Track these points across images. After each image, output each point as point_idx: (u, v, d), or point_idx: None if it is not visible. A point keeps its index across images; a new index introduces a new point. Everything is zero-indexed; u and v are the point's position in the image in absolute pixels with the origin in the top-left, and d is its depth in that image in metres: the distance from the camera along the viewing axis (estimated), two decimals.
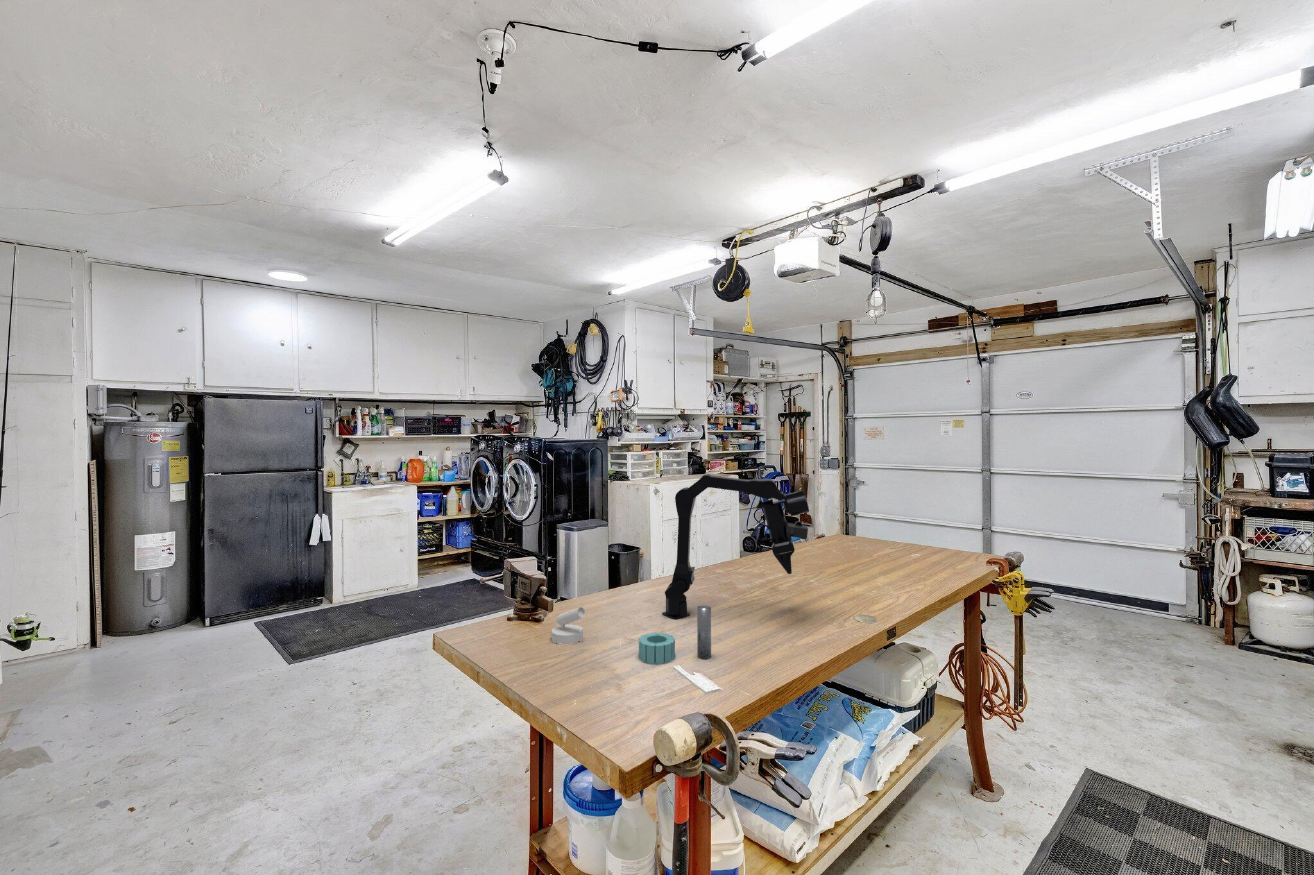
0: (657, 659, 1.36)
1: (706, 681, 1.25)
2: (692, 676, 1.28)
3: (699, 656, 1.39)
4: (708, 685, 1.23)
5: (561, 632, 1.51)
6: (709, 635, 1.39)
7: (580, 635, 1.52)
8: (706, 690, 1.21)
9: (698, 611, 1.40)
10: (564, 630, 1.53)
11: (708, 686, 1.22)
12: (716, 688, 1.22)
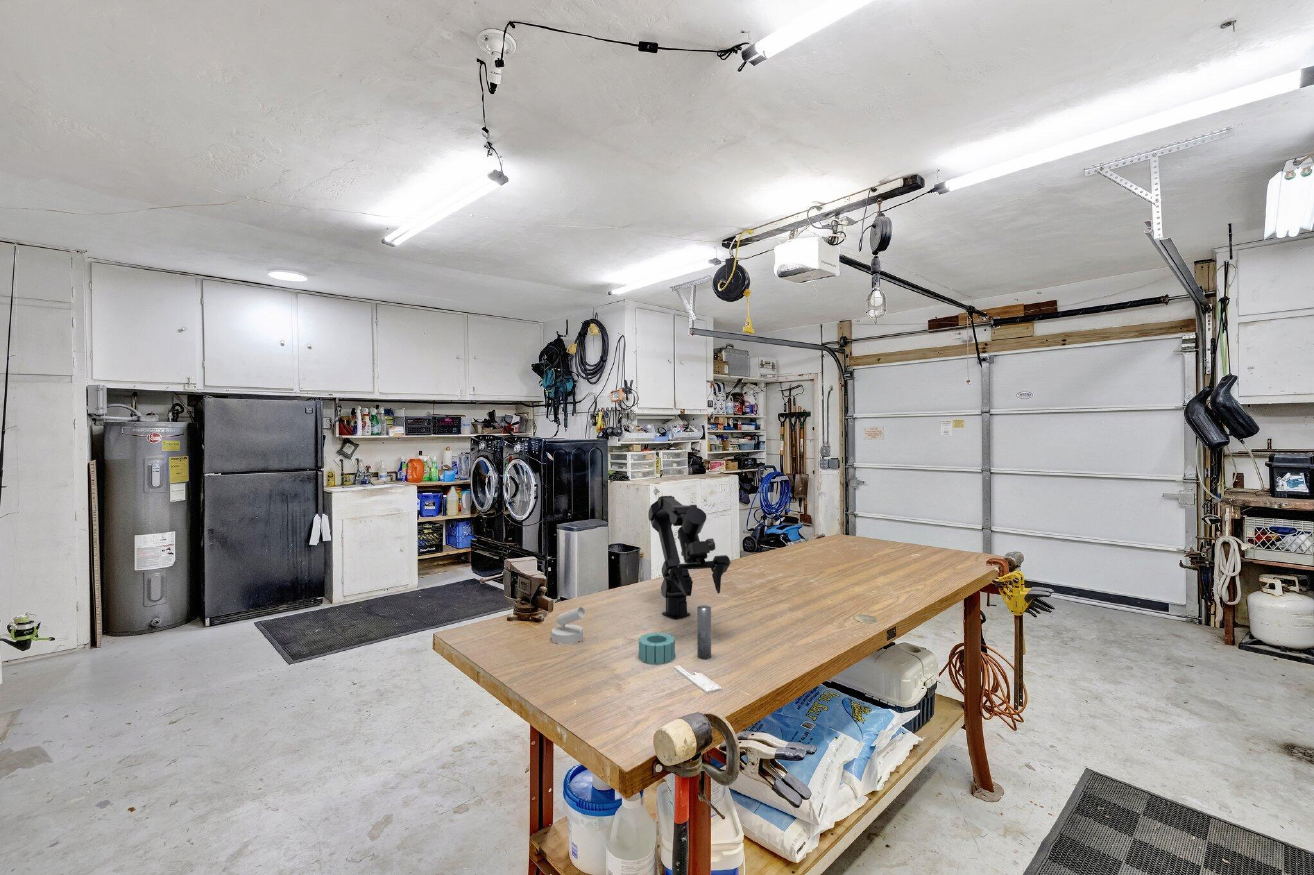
0: (657, 659, 1.36)
1: (707, 681, 1.25)
2: (693, 676, 1.28)
3: (699, 656, 1.39)
4: (709, 685, 1.23)
5: (561, 632, 1.51)
6: (709, 635, 1.39)
7: (580, 635, 1.52)
8: (707, 690, 1.21)
9: (698, 611, 1.40)
10: (564, 630, 1.53)
11: (709, 686, 1.22)
12: (717, 688, 1.22)
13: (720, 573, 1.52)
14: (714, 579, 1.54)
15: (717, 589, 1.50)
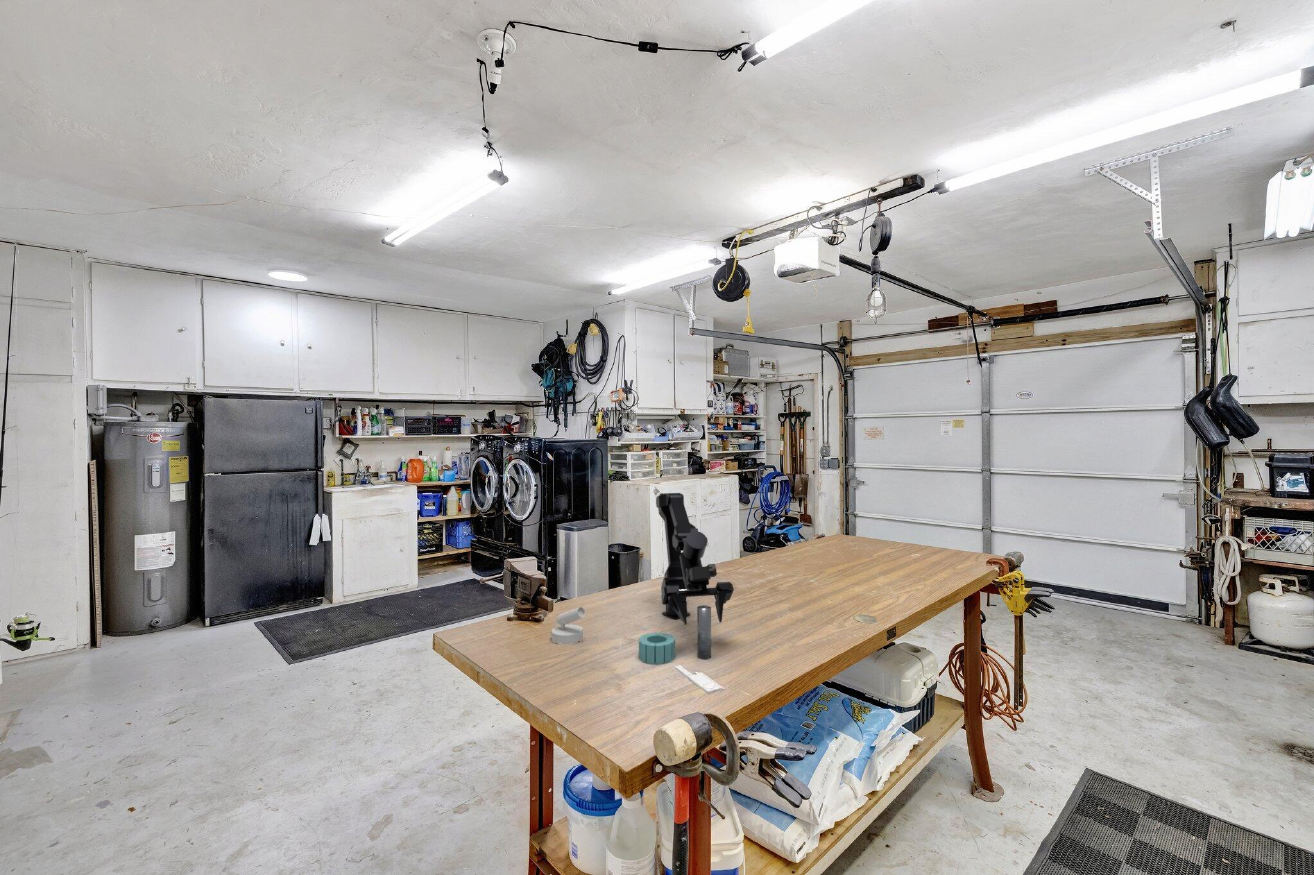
0: (657, 659, 1.36)
1: (708, 681, 1.25)
2: (694, 676, 1.28)
3: (699, 656, 1.39)
4: (710, 685, 1.23)
5: (561, 632, 1.51)
6: (709, 635, 1.39)
7: (580, 635, 1.52)
8: (708, 690, 1.21)
9: (698, 611, 1.40)
10: (564, 630, 1.53)
11: (710, 686, 1.23)
12: (718, 687, 1.22)
13: (722, 601, 1.45)
14: (716, 607, 1.46)
15: (719, 618, 1.43)
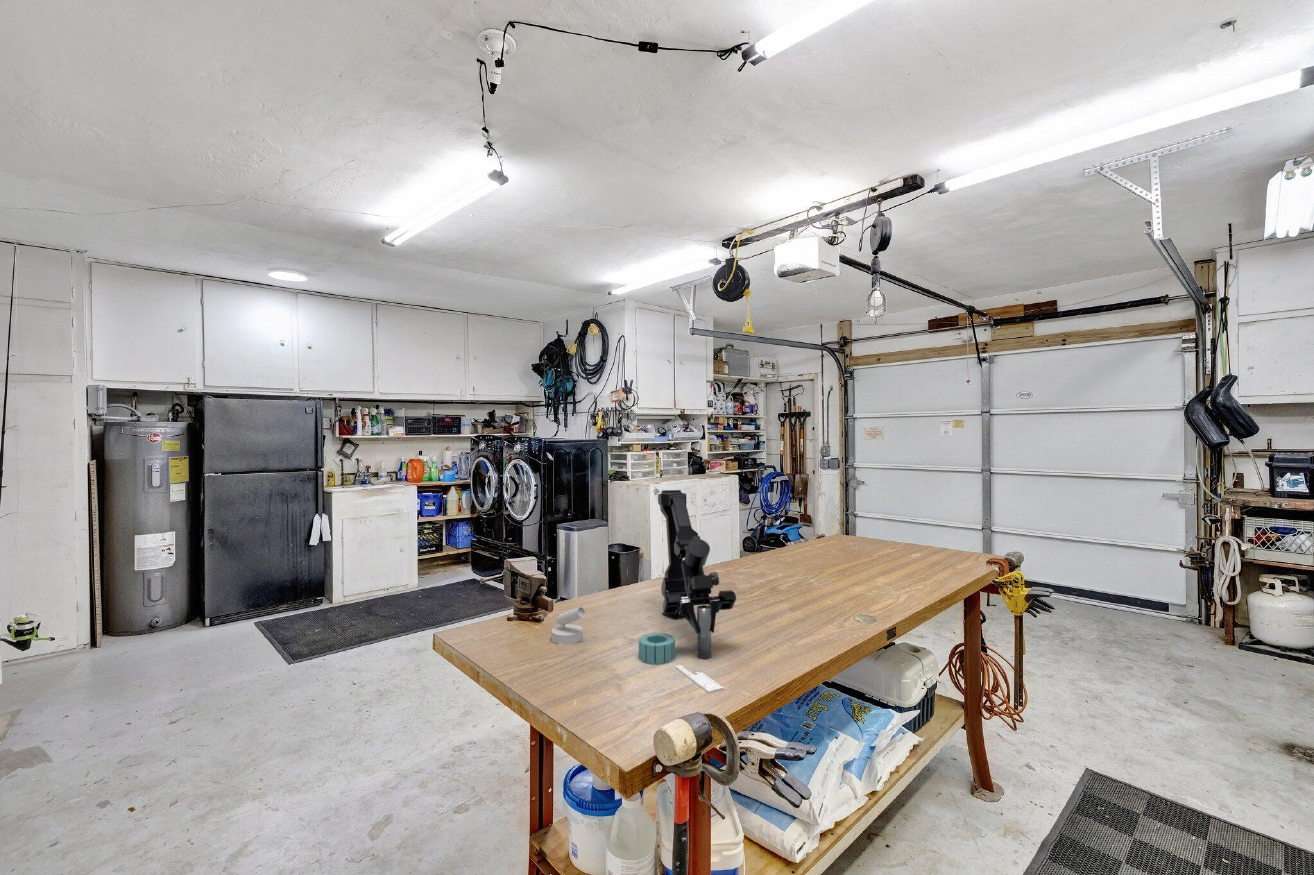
0: (657, 659, 1.36)
1: (708, 680, 1.26)
2: (695, 676, 1.28)
3: (699, 656, 1.39)
4: (711, 684, 1.23)
5: (561, 632, 1.51)
6: (709, 635, 1.39)
7: (580, 635, 1.52)
8: (709, 689, 1.21)
9: (698, 611, 1.40)
10: (564, 630, 1.53)
11: (711, 685, 1.23)
12: (719, 687, 1.22)
13: (715, 610, 1.42)
14: None
15: (711, 628, 1.40)
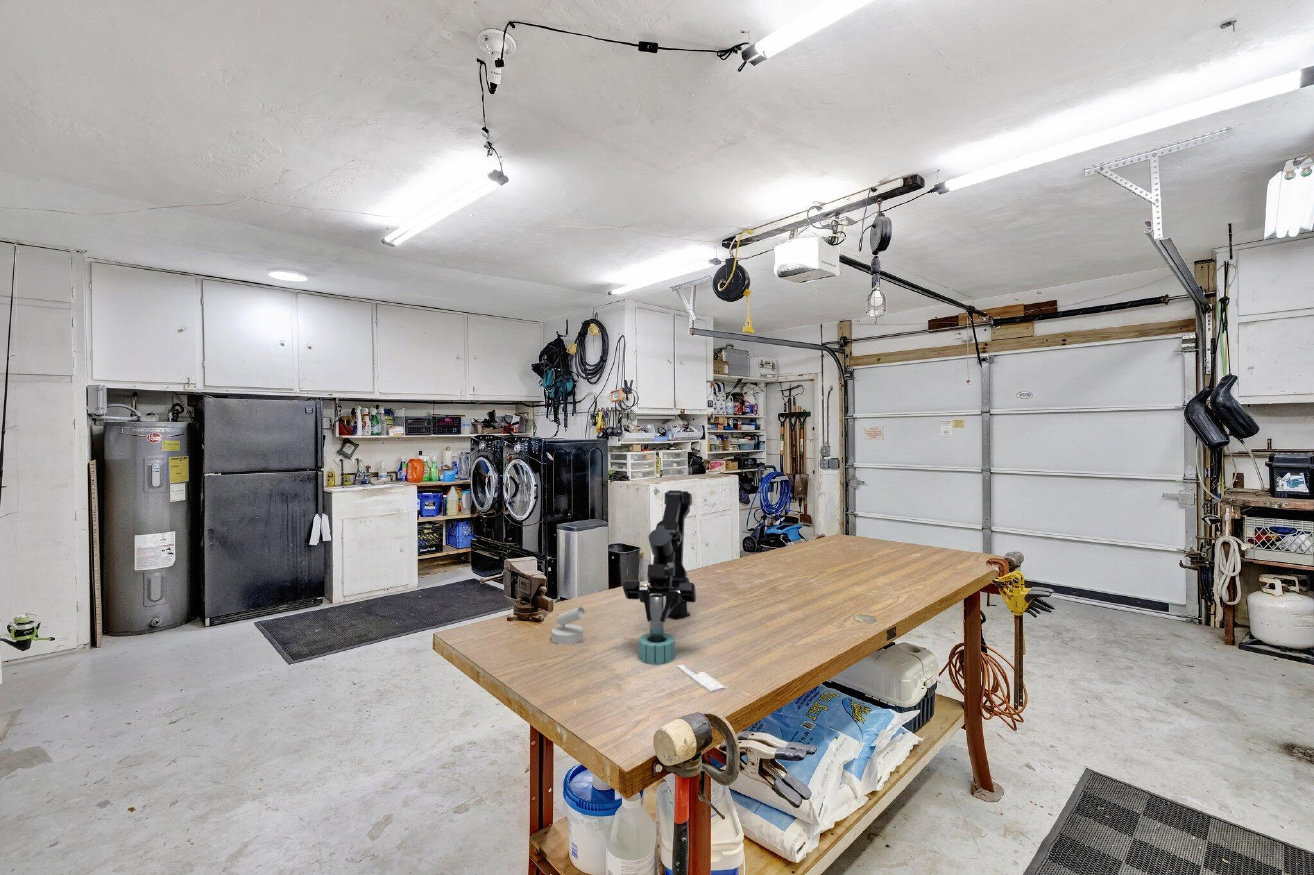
0: (657, 659, 1.36)
1: (710, 680, 1.26)
2: (697, 675, 1.28)
3: None
4: (712, 684, 1.23)
5: (561, 632, 1.51)
6: (659, 624, 1.39)
7: (580, 635, 1.52)
8: (710, 689, 1.21)
9: None
10: (564, 630, 1.53)
11: (712, 685, 1.23)
12: (720, 687, 1.22)
13: (669, 601, 1.41)
14: None
15: (663, 618, 1.40)
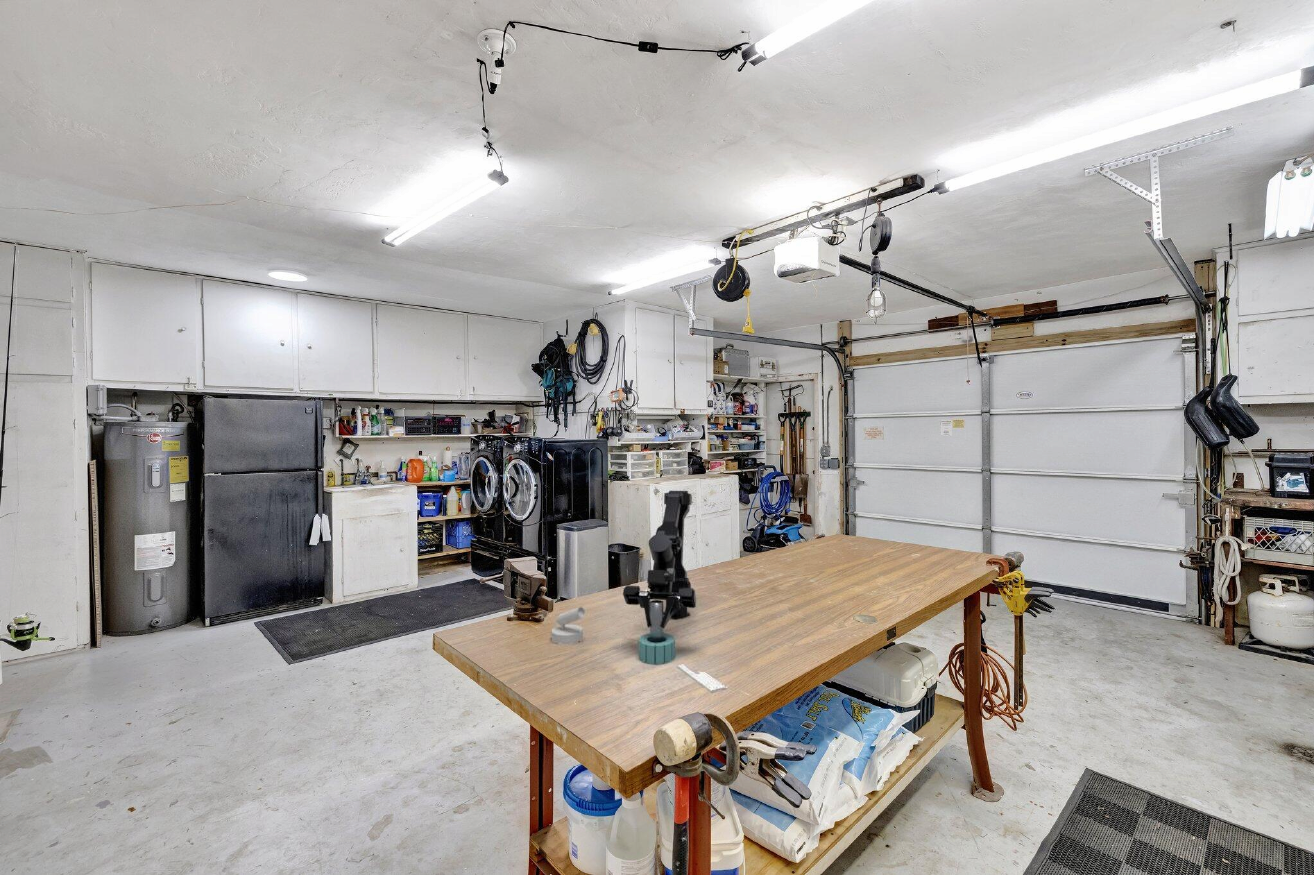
0: (657, 659, 1.36)
1: (711, 680, 1.26)
2: (697, 675, 1.28)
3: None
4: (713, 684, 1.23)
5: (561, 632, 1.51)
6: (659, 630, 1.39)
7: (580, 635, 1.52)
8: (711, 689, 1.21)
9: None
10: (564, 630, 1.53)
11: (713, 685, 1.23)
12: (721, 687, 1.22)
13: (669, 606, 1.41)
14: None
15: None
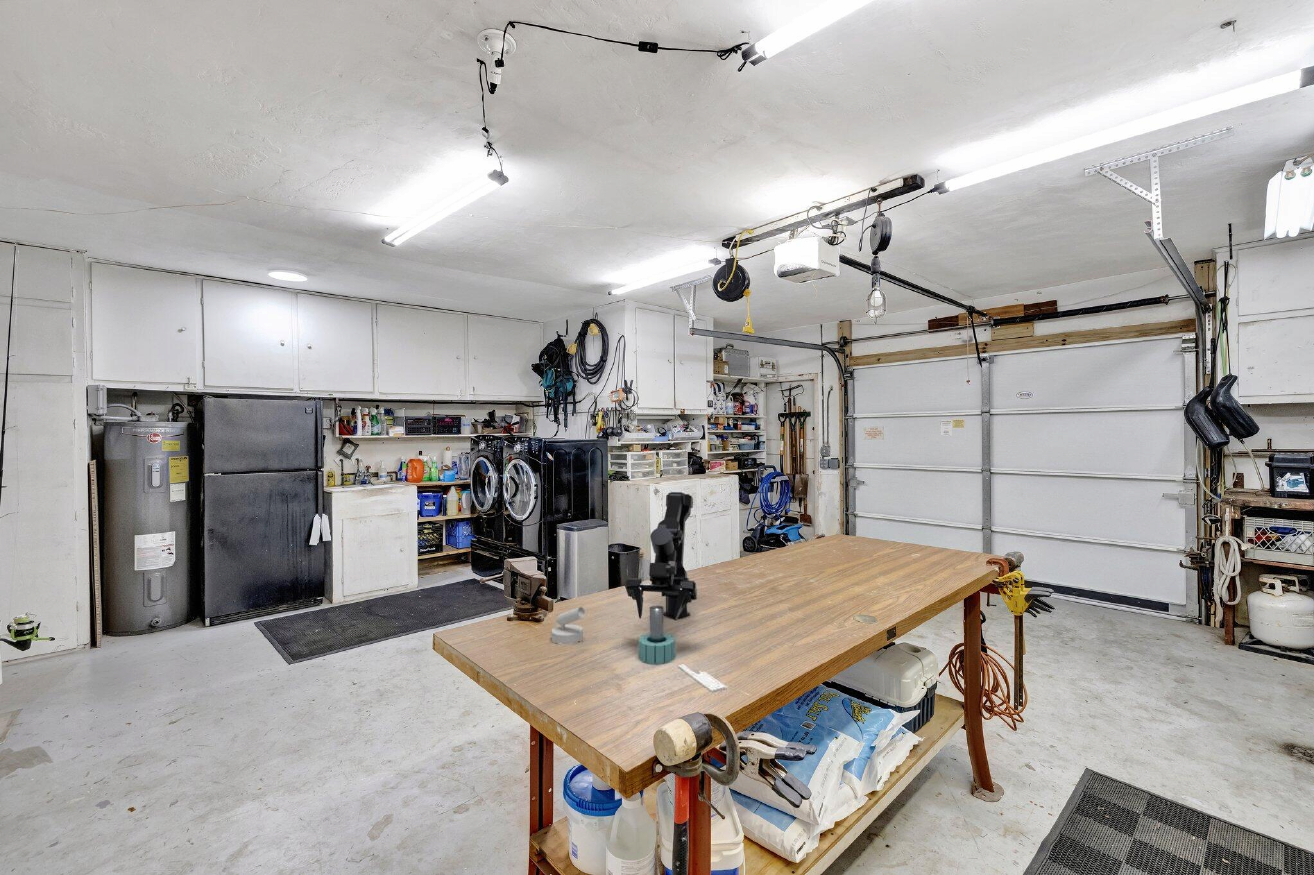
0: (657, 659, 1.36)
1: (711, 680, 1.26)
2: (698, 675, 1.28)
3: None
4: (714, 684, 1.24)
5: (561, 632, 1.51)
6: (659, 636, 1.39)
7: (580, 635, 1.52)
8: (712, 689, 1.22)
9: (650, 611, 1.40)
10: (564, 630, 1.53)
11: (714, 685, 1.23)
12: (722, 686, 1.23)
13: (681, 599, 1.43)
14: None
15: None
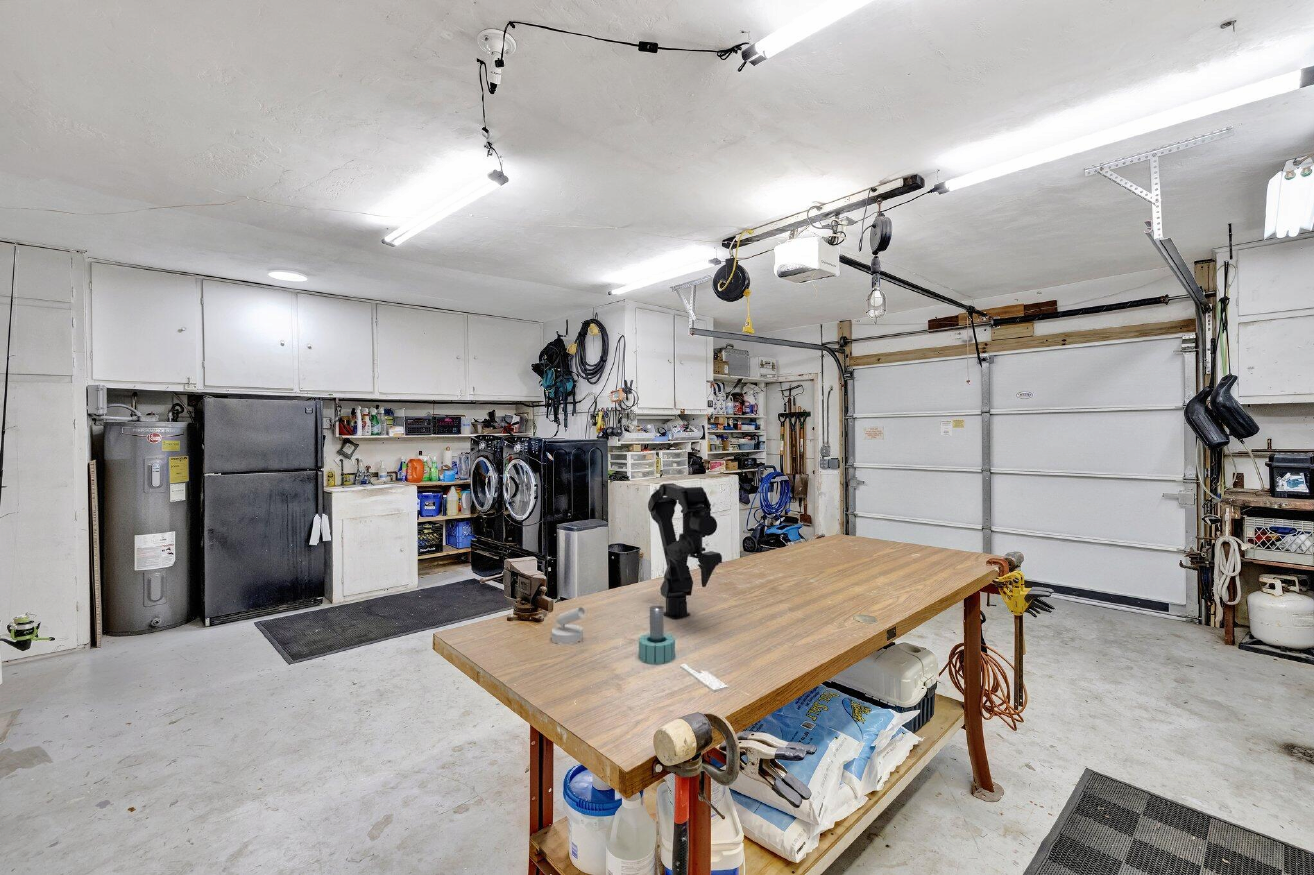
0: (657, 659, 1.36)
1: (713, 679, 1.26)
2: (700, 674, 1.29)
3: None
4: (715, 683, 1.24)
5: (561, 632, 1.51)
6: (659, 636, 1.39)
7: (580, 635, 1.52)
8: (714, 688, 1.22)
9: (650, 611, 1.40)
10: (564, 630, 1.53)
11: (716, 684, 1.23)
12: (724, 686, 1.23)
13: (703, 571, 1.56)
14: None
15: None
